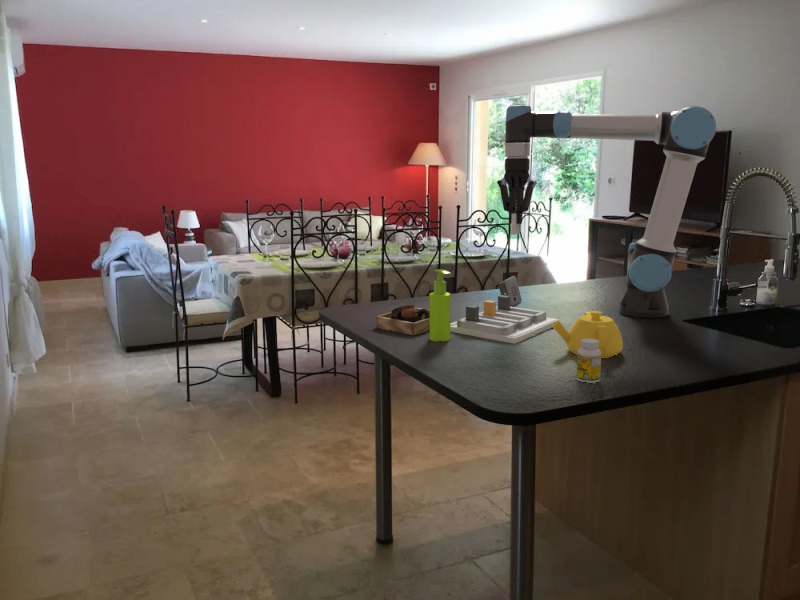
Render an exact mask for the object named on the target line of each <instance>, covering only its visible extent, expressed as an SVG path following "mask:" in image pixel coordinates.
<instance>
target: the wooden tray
mask: <svg viewBox="0 0 800 600" xmlns="http://www.w3.org/2000/svg"><path fill="white" fill-rule="evenodd" d="M415 309H416V310H420V309H423V307H416V306H415ZM426 309H427V310H428V311H429V313H430V309H428V308H426ZM416 314H417V313H416ZM417 315H418V314H417ZM391 316H392V313H391V311H390V312H385V313H382V314H378V315H376V317H375V323H376V324H375V326H376V328H377V327H378V328H377V329H379V328H380V330H384V329H385V330H386V331H389V330H392V331H391V332H394V331H397V332H396V333H399V332H401V333H400V334H404V333H405V334H404V335H409V334H410V335H411V336H416V335H420V334H422V333H425V332H428V330H429V331H430V318H427V319H424V318H425V316H426V314H425V313H424V314H423V315H422V317H421V318H422V319H423V320H420V321H417V322H414V323H413V322H407V321H402V320H397V319H391Z"/></svg>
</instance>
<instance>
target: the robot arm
mask: <svg viewBox="0 0 800 600" xmlns="http://www.w3.org/2000/svg"><path fill="white" fill-rule="evenodd" d="M505 113H506V114H505V122H504V123H505V133H504V134H505V140H504V141H505V144H504V145H505V146H504V147H505V148H504V157H506V158H505V160H504V175H503V177H502V178H501V179H498V180H497V182H496V183H497V185H498V188H499V191H500V196H501V201H502V208H503V210H504V211H505V212H508V215H509V217H508V219H509V220H508V221H509V224H511V226H510V229H511V230H510V231H511V232H510V235H520V232H521V230H520V228H521V224H522V223H523V215H524V213H525V212H528V211H529V210H530V209H529V208H530V204H531V200H532V196H533V192H534V189H535V187H536V185H537V184H538V182H537V180H534V179H532V178H531V175H530V163H531V162H530V158H529V157H530V154H531V138H550V139H585V140H586V139H588V140H589V139H590V140H591V139H592V140H593V139H594V140H619V141H621V140H623V141H625V140H626V141H653V142H654V143H655V144H657V145H664V146H663V149H662V152H663V154H664V155H665V156H666V158H665V162H664V164H663V168H662V173H661V175H660V179H659V182H658V186H657V188H656V193H655V196H654V200H653V204H652V207H651V210H650V214H649V217H648V220H647V224H646V227H645V231H644V234H643V236H642V237H641V238H639V239H638V240H636V242H631V243H630V244H629V245H628V249H627V253H628V254H627V255H628V256H627V266H626V267H627V268H626V285H625V291H624V293H623V295H622V297H621V300H620V303H619V306H618V307H619V310H618V312H619V313H620V314H621V313H622V315H624V314H626V315H625V316H627V315H630V316H629V317H631V316H636V317H635V318H638V317H661V318H664V317H663V316H666V317H667V315H668V316H669V309H670V308H669V304H668V300H667V295H666V292H665V287H666V286H667V285H668V283H669V282H670V280H671V278H672V271H673V270H672V267H673V264H674V261H675V258H676V254H677V249H676V247H675V245H674V242H675V239H676V235H677V231H678V228H679V225H680V223H681V218H682V215H683V212H684V210H685V209H684V208H685V206H686V203H687V199H688V196H689V193H690V189H691V185H692V183H693V179H694V176H695V172H696V169H697V166H698V164H699V163H701V161H704V160H705V159H706V156H707V152H708V149H709V146H710V142H711V141H712V140H713V139H714V137H715V135H716V131H717V121H716V119H715V117H714V115H713V114H712V112H711V111H710V110H708V109H707V108H705V107H703V106H699V105H689V106H686V107H683V108H681V109H679V110H674V111H659V112H658V114H616V113H615V114H607V113H606V114H604V113H603V114H602V113H592V114H591V113H571V112H570V111H567V110H565V111H563V110H557V111H556V110H555V111H532V107H531V105H528V104H527V105H526V104H523V105H521V104H520V105H519V104H517V105H509V106H508V107H507V108H506V111H505ZM507 185H508V186H507ZM525 187H526V188H525Z"/></svg>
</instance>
